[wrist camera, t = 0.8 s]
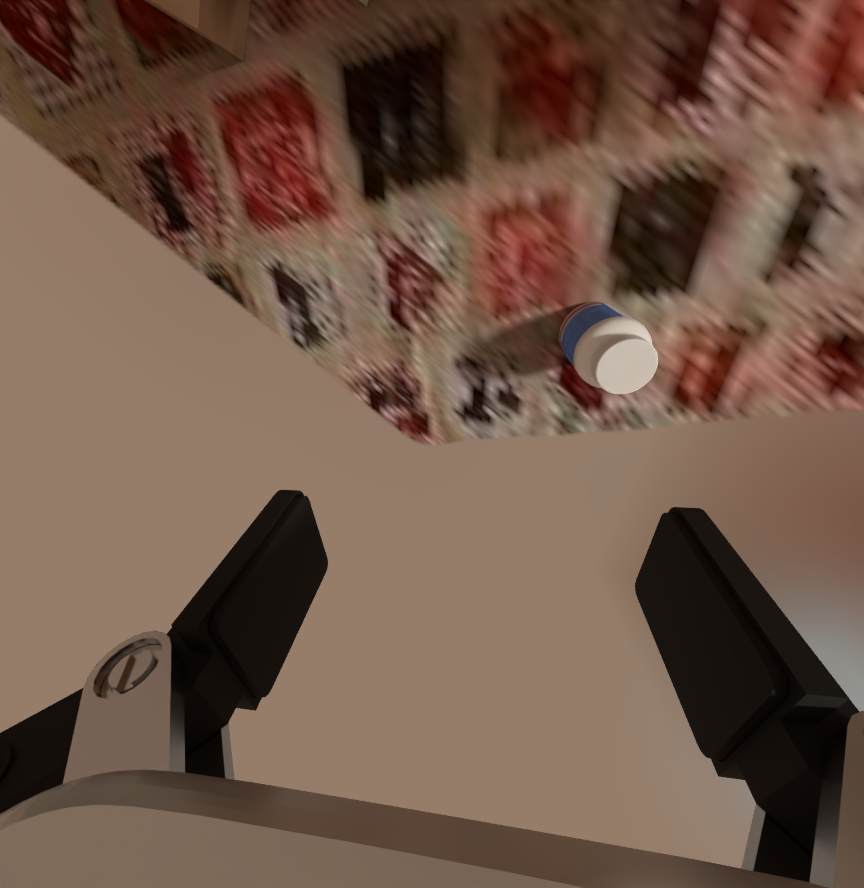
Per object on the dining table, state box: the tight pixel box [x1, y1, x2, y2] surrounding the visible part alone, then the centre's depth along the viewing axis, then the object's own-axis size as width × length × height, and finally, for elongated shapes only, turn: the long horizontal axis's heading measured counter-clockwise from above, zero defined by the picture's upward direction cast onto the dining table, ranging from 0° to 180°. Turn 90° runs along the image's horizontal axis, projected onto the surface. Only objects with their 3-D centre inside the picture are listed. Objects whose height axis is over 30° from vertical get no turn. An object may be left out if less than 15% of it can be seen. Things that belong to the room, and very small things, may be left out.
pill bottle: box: [559, 302, 658, 394], centre depth 28 cm, size 6×5×10 cm
